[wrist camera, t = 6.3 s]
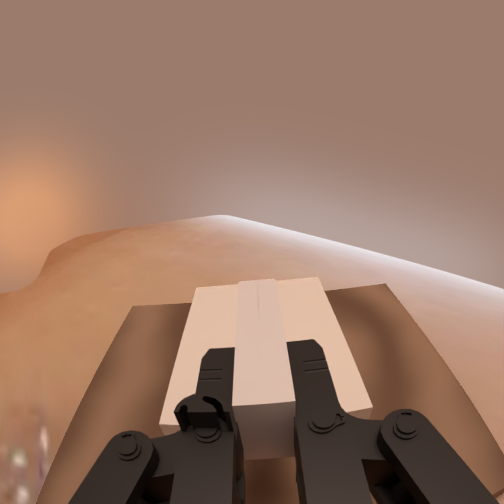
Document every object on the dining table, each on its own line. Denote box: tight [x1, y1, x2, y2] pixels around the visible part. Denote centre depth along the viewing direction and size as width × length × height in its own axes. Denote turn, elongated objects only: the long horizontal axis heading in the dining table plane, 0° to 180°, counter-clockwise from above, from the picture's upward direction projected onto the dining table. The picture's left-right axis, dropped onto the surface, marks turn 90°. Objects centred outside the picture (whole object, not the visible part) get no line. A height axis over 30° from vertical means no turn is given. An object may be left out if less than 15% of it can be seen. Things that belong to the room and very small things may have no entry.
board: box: [36, 284, 504, 504], centre depth 18 cm, size 24×22×2 cm
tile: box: [159, 277, 373, 436], centre depth 19 cm, size 10×2×14 cm
